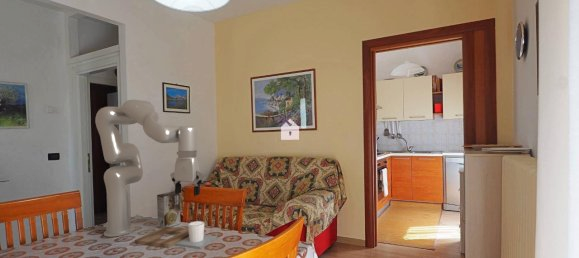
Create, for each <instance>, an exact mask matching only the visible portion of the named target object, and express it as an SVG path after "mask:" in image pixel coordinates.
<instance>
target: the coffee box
mask: <svg viewBox="0 0 579 258" xmlns="http://www.w3.org/2000/svg"><path fill="white" fill-rule="evenodd" d="M180 197H181V196H180V193H178V194H175V191H169V192H165V193H159V194H157V195H156V202H157V203H156V205H157V209H156V210H157V227H158V228H160V229H161V228H163V227H174V226H177V225H180V224H181V205H180V204H181V201H180V200H181V199H180Z"/></svg>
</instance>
